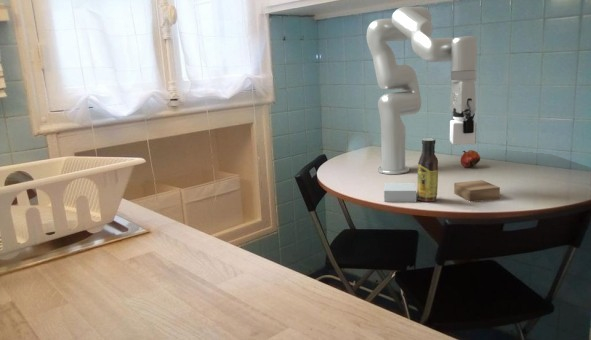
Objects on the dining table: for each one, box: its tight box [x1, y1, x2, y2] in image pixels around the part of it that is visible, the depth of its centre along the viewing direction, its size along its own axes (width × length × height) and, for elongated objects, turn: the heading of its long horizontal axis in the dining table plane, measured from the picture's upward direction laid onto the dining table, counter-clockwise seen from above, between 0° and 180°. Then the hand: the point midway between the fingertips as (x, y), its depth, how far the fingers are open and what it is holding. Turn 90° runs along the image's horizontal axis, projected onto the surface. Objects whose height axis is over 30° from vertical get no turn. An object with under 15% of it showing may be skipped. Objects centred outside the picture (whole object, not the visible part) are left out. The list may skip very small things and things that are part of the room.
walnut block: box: [453, 179, 501, 203], centre depth 153 cm, size 10×10×4 cm
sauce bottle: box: [416, 137, 439, 203], centre depth 150 cm, size 7×6×20 cm
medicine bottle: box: [449, 108, 477, 146], centre depth 154 cm, size 7×7×12 cm
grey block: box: [383, 182, 417, 203], centre depth 156 cm, size 10×10×4 cm
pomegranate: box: [460, 149, 481, 170], centre depth 191 cm, size 7×7×10 cm
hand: (462, 131), depth 154 cm, fingers closed on medicine bottle, 8 cm apart
